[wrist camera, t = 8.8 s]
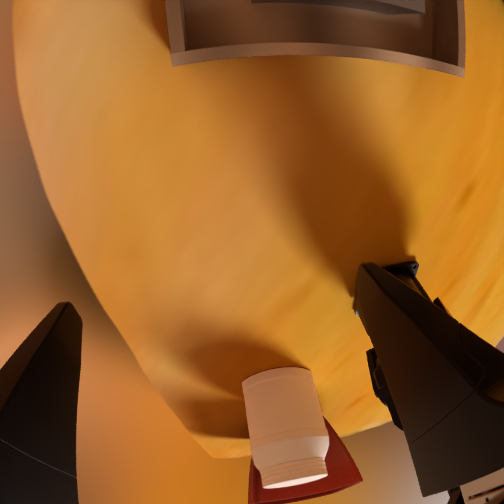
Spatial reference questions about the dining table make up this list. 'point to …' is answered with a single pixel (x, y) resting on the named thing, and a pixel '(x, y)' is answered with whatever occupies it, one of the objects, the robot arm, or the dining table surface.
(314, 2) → the block
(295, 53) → the brown tray
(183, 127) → the dining table surface
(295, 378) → the jar
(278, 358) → the dining table surface
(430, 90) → the dining table surface
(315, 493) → the plant pot
